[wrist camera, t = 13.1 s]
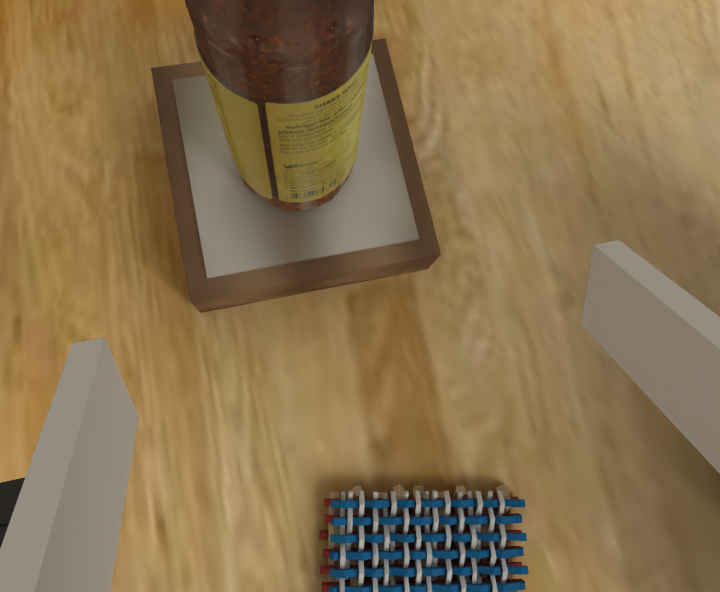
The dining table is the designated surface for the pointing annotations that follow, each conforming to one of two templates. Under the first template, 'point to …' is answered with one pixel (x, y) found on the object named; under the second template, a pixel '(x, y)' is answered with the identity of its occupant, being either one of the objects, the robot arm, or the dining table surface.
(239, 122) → the sauce bottle
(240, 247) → the walnut plinth
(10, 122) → the dining table surface
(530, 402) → the dining table surface
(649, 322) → the robot arm
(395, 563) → the woven mat
